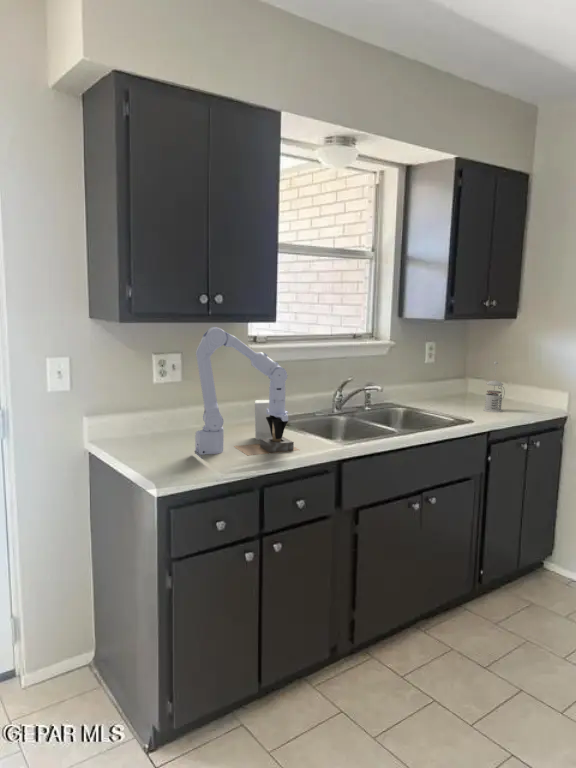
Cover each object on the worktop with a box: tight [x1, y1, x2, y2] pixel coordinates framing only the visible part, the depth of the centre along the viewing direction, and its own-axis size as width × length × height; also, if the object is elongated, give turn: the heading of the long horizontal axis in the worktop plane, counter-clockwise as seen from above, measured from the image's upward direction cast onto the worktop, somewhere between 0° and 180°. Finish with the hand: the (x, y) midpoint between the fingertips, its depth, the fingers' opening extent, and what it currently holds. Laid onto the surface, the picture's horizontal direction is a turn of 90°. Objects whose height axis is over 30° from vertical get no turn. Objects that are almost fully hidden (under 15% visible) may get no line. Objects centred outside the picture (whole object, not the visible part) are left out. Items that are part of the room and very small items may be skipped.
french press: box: [482, 361, 506, 413], centre depth 298 cm, size 10×12×25 cm
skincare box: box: [254, 399, 272, 441], centre depth 226 cm, size 8×7×16 cm
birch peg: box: [272, 423, 281, 442], centre depth 209 cm, size 3×3×8 cm
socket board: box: [233, 436, 300, 456], centre depth 211 cm, size 20×14×4 cm
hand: (276, 437), depth 210 cm, fingers closed on birch peg, 3 cm apart
